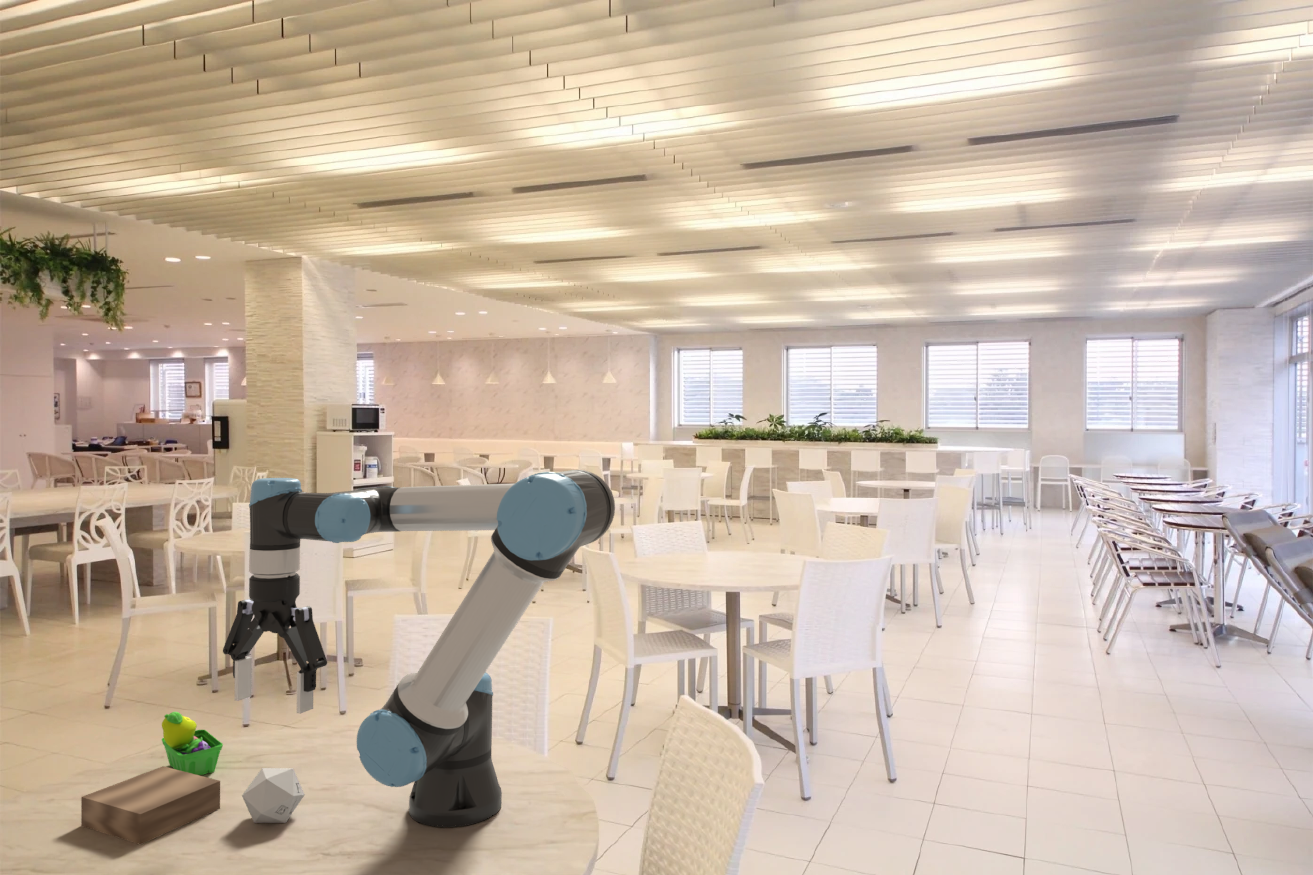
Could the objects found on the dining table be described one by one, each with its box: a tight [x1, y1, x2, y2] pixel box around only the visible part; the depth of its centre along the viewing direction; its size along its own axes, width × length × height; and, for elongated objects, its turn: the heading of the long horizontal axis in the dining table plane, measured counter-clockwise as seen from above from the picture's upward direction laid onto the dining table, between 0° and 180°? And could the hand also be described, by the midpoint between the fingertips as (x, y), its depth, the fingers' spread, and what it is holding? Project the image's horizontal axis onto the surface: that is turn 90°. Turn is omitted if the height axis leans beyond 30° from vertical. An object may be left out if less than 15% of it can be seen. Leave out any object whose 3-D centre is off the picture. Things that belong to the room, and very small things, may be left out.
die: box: [241, 767, 306, 824], centre depth 143 cm, size 8×9×10 cm
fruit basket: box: [161, 711, 224, 776], centre depth 163 cm, size 11×9×11 cm
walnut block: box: [80, 765, 221, 845], centre depth 143 cm, size 14×14×5 cm
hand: (273, 704), depth 143 cm, fingers open, 13 cm apart
